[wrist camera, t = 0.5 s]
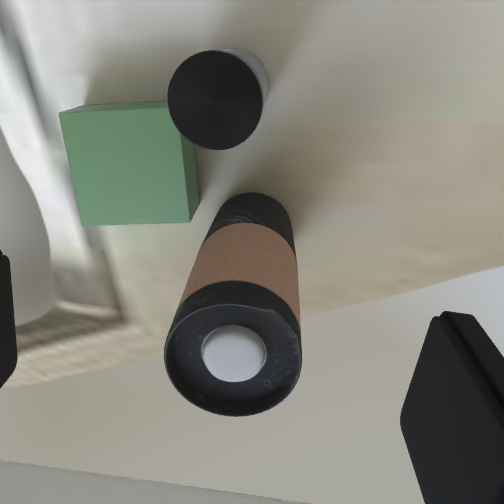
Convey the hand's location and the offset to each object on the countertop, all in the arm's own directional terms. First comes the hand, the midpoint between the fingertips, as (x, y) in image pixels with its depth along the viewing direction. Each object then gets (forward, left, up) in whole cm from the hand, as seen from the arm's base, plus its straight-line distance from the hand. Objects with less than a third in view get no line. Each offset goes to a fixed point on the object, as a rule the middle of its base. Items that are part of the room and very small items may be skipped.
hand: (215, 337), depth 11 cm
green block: (+6, -9, -32) cm, 34 cm away
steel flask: (-2, -3, -32) cm, 32 cm away
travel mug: (+9, +2, -32) cm, 33 cm away
